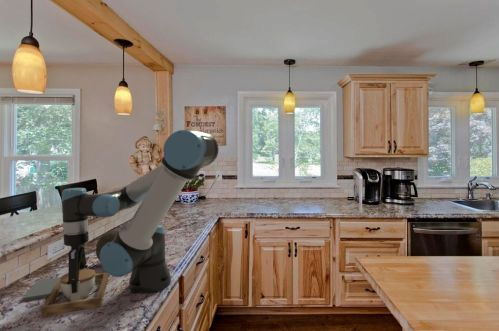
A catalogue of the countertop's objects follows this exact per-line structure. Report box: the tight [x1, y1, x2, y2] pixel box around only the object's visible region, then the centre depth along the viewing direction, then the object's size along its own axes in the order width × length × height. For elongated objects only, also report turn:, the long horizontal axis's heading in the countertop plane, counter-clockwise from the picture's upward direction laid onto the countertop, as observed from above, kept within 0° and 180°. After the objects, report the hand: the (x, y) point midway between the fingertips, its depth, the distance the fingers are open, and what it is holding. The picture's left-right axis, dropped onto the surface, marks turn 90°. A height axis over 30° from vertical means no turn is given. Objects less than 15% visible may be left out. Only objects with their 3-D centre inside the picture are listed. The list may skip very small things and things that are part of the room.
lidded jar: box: [60, 268, 96, 301], centre depth 103 cm, size 11×11×9 cm
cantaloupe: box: [95, 230, 119, 263], centre depth 133 cm, size 14×14×15 cm
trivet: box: [22, 276, 65, 302], centre depth 110 cm, size 15×15×1 cm
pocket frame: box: [40, 271, 109, 318], centre depth 103 cm, size 16×22×3 cm
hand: (79, 293), depth 103 cm, fingers closed on lidded jar, 11 cm apart
